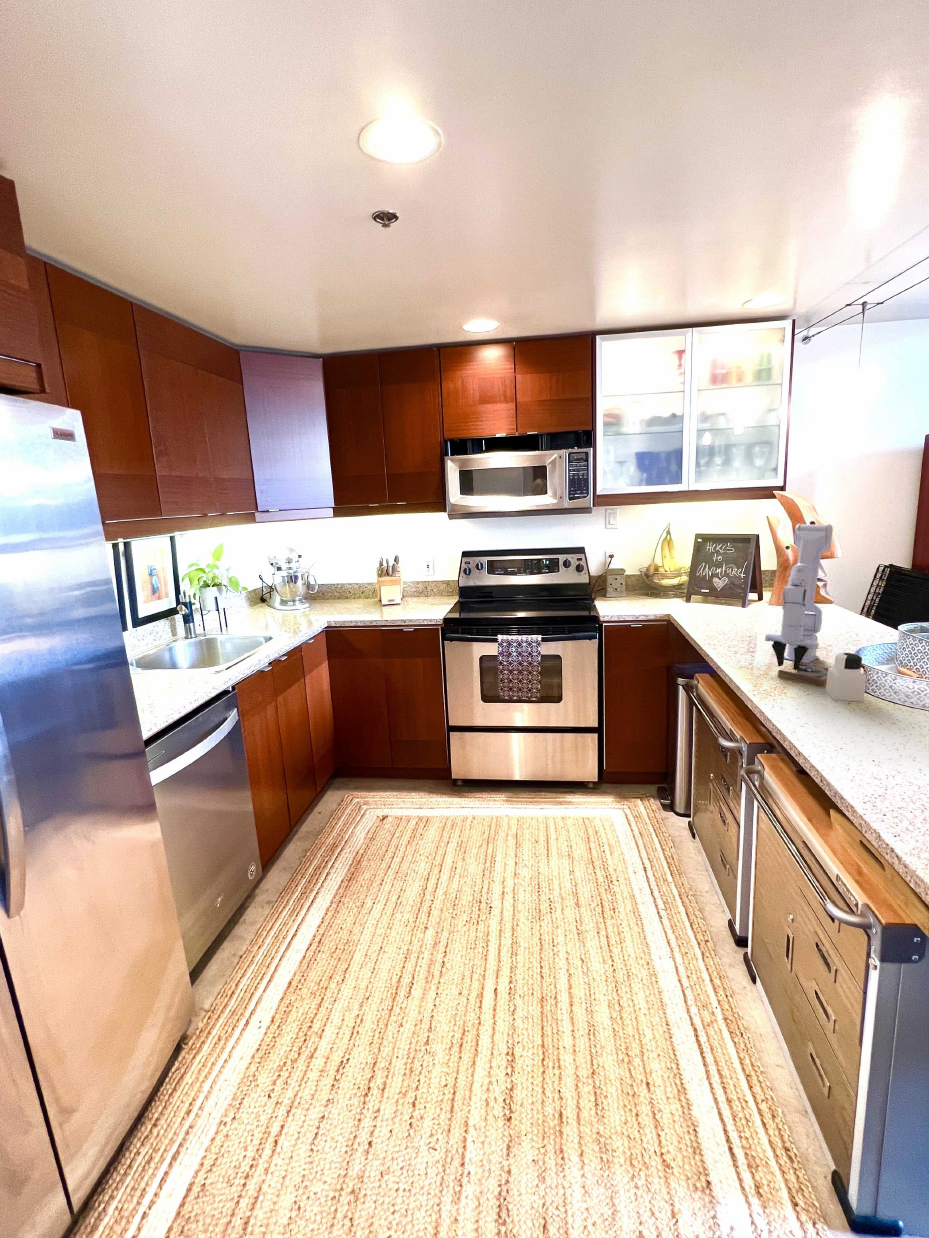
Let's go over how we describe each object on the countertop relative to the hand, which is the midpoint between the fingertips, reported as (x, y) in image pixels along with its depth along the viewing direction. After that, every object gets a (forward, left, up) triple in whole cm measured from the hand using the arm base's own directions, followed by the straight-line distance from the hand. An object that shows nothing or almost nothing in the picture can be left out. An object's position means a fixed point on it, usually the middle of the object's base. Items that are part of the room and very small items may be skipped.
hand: (788, 667), depth 179 cm
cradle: (0, +6, -2) cm, 6 cm away
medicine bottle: (+10, +19, -2) cm, 21 cm away
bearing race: (0, +7, -2) cm, 7 cm away
